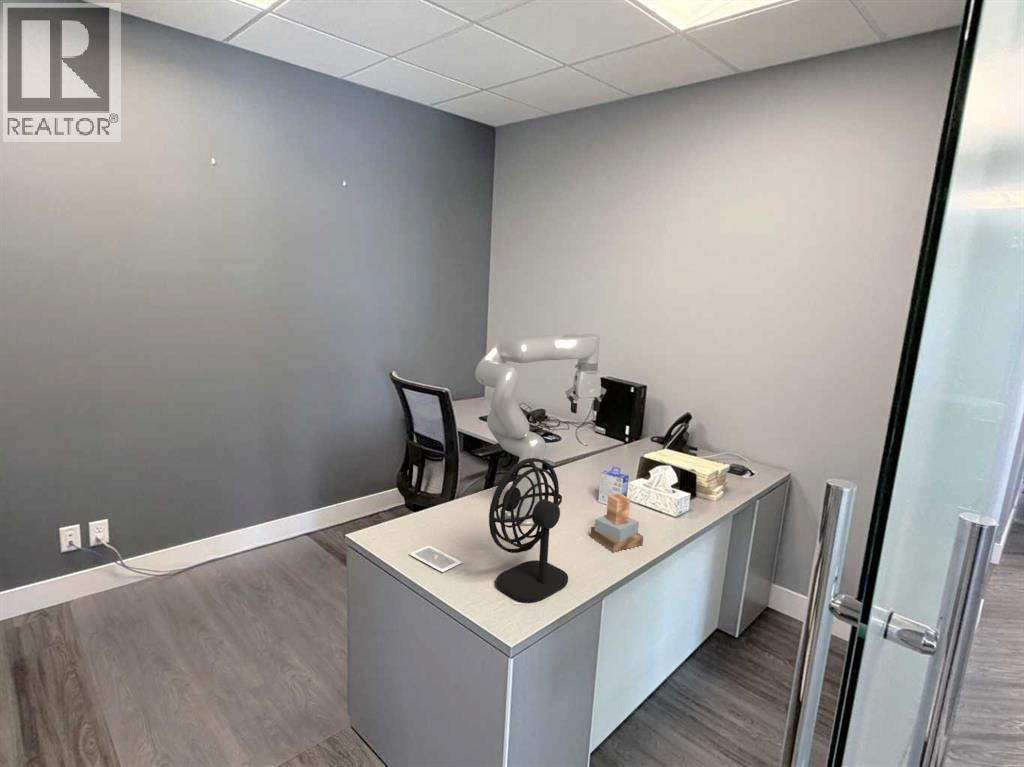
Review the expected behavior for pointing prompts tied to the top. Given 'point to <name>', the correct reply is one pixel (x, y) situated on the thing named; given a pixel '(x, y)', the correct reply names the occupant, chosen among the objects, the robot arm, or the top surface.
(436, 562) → the touchpad
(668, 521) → the top surface
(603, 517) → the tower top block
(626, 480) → the ink cartridge box
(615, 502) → the terracotta block
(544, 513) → the desk fan
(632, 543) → the tower base block
